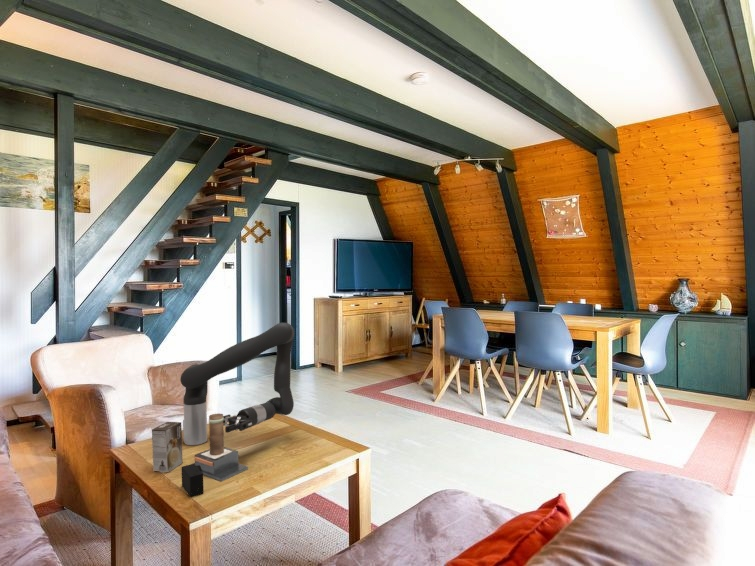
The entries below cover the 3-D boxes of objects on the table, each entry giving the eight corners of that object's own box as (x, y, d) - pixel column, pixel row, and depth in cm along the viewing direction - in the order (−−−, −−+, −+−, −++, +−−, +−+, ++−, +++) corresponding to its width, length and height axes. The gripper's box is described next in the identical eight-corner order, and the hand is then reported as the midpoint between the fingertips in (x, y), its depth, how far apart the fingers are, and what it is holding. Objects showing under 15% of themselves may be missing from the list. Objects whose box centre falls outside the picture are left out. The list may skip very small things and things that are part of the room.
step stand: (186, 468, 175) (186, 452, 175) (213, 457, 185) (213, 442, 185) (221, 481, 164) (220, 464, 164) (247, 469, 174) (247, 452, 174)
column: (206, 453, 174) (205, 416, 173) (218, 449, 178) (217, 412, 178) (215, 456, 171) (214, 418, 171) (227, 451, 175) (226, 414, 175)
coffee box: (168, 461, 182) (167, 421, 181) (183, 463, 180) (182, 421, 180) (152, 472, 173) (151, 429, 172) (167, 473, 171) (166, 430, 171)
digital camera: (207, 492, 156) (206, 472, 156) (190, 497, 153) (190, 476, 153) (198, 481, 164) (197, 462, 164) (182, 486, 161) (181, 466, 161)
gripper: (240, 404, 192) (206, 414, 179) (264, 409, 185) (230, 421, 171) (240, 422, 193) (206, 434, 179) (264, 428, 185) (231, 441, 171)
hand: (218, 427), depth 175 cm, fingers open, 8 cm apart
